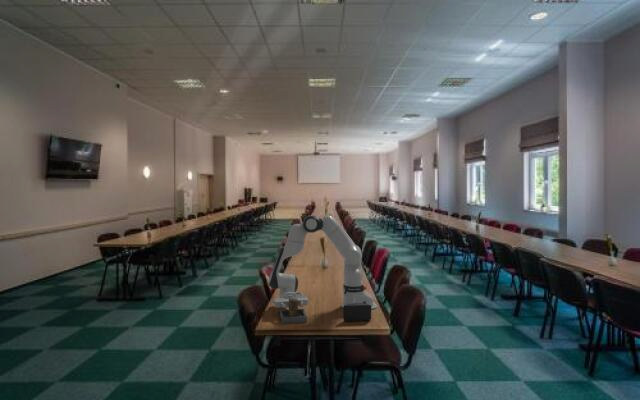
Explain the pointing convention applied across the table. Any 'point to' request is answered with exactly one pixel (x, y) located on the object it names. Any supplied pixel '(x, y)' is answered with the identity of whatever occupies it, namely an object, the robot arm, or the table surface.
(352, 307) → the blue scroll wheel mouse
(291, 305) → the walnut block
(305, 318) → the tray
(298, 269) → the table surface
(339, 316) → the table surface
